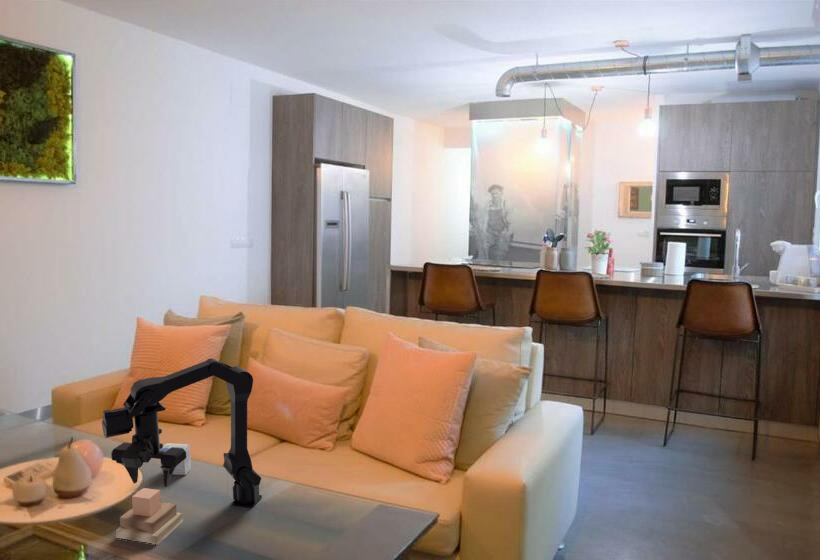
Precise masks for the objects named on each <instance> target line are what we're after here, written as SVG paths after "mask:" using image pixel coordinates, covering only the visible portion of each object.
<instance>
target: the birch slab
mask: <svg viewBox="0 0 820 560" xmlns="http://www.w3.org/2000/svg"><path fill="white" fill-rule="evenodd" d="M183 522H184V513H183V512H177V515H176V516H175V517H173V518H172V519H171V520H170V521H169V522H167V523H166V524H165V525H164V526H162V527H161V528H160V529H159V530H158V531H156V532H155V533H154V534H152V533H146V532H140V531H134V530H129V529H123V528H120V526H119V527H118V528H116V530H115V539H116V538H123V539H130V540H136V541H141V542H147V543H146V544H148V543H152V544H151V545H155V544H156V546H157V545H160V543H161V542H163V541H164V540H165V539H166V538H167V537H168V536H170V534H171V533H173V531H174V530H175V529H177V528H178V527H179V526H180V525H181V524H182V523H183ZM141 542H140V543H141Z"/></svg>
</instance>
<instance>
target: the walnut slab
mask: <svg viewBox="0 0 820 560" xmlns="http://www.w3.org/2000/svg"><path fill="white" fill-rule="evenodd" d="M176 515H177V504H174V503H168V502H164V501H161V508H160V509H159V510H158V511H156V512H155V513H154V514H153V515H152V516H150V517H149V516H141V515H134V514H133V507H132V508H131V509H129V510H128V511H126V512H125V513H124V514H123V515H121V516H119V527H120V528H123V529H129V530H134V531H140V532H146V533H152V534H154V533H155V532H156V531H158V530H159V529H160V528H161V527H162V526H164V525H165V524H166V523H167V522H169V521H170V520H171V519H172V518H173V517H175V516H176Z"/></svg>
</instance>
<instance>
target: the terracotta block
mask: <svg viewBox="0 0 820 560" xmlns="http://www.w3.org/2000/svg"><path fill="white" fill-rule="evenodd" d="M161 500H162V498H161V489H156V488H155V489H153V488H147V487H143V488H142V489H140V490H139V491H137V492H135V494H134V495H132V496H131V501H132V504H131V505H132V508H133V514H134V515H141V516H149V517H150V516H152V515H153V514H154V513H155V512H156V511H158V510H159V509H160V508H161V502H162V501H161Z"/></svg>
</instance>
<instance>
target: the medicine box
mask: <svg viewBox="0 0 820 560" xmlns="http://www.w3.org/2000/svg"><path fill="white" fill-rule="evenodd" d="M172 447H173V448H183V449H184V450H185V451H186V459H184V460H183V461H182V462H181V463H179V464H178V465H177V466H176V468H175V470H174V472H173V475H172V476H187V474H188V473H189V472H190V471H191V470H192V465H191V464H192V463H191V450H190V448H191V447H190V443H189V444H187V443H170V442H169V443H165V444H164V445H163V448H161V449H160V451H163V452H166V451H167V450H169V449H170V448H172ZM160 465H161V466H162V464H161V463H160ZM161 466H160V467H161ZM160 470H161V475H164V474H163V469H160Z"/></svg>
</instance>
